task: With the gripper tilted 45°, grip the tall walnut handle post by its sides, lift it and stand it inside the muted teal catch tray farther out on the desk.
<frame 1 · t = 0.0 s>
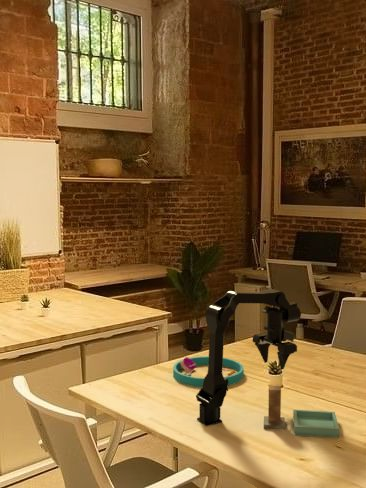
hand: (273, 365, 209), 15 cm above the table, tool pointing down, fingers open, 9 cm apart
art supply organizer: (208, 376, 243), on the table
catch tray: (315, 427, 190), on the table
handle post: (274, 425, 192), on the table
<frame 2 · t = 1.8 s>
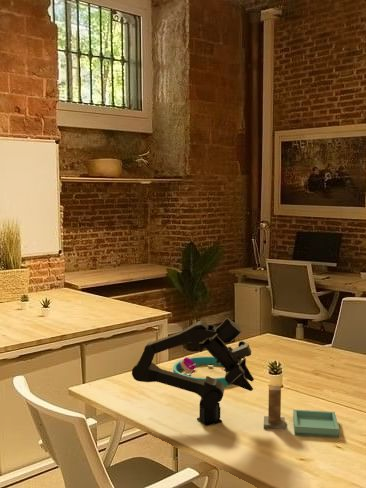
hand: (252, 385, 192), 14 cm above the table, tool tilted 45°, fingers open, 9 cm apart
nothing on the table moved.
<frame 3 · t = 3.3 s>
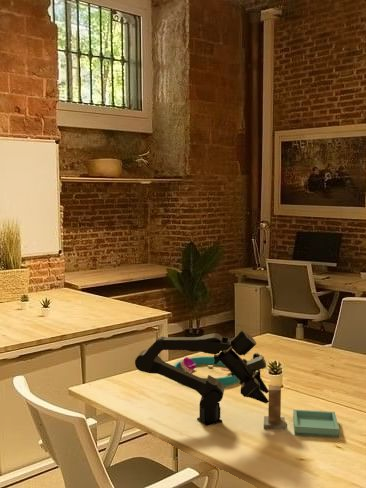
hand: (267, 397, 192), 10 cm above the table, tool tilted 45°, fingers open, 9 cm apart
nothing on the table moved.
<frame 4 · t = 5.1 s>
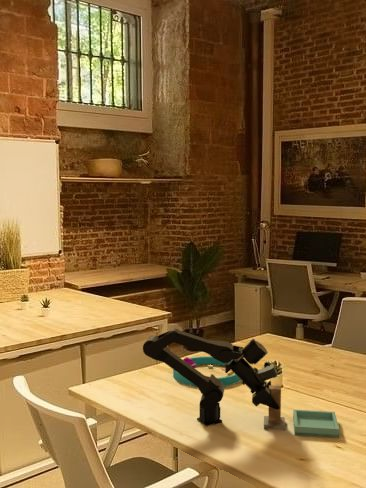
hand: (278, 406, 191), 7 cm above the table, tool tilted 45°, fingers closed on handle post, 4 cm apart
handle post: (274, 425, 192), on the table, touching gripper
everything else where it was.
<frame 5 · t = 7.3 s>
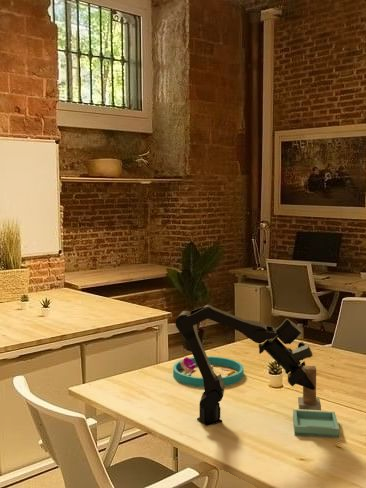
hand: (313, 386, 189), 14 cm above the table, tool tilted 45°, fingers closed on handle post, 4 cm apart
handle post: (309, 405, 190), point 7 cm above the table, touching gripper
everything else where it was.
when the fingers open (8 cm above the table, at t = 9.5 s): handle post stays where it is, resting on catch tray.
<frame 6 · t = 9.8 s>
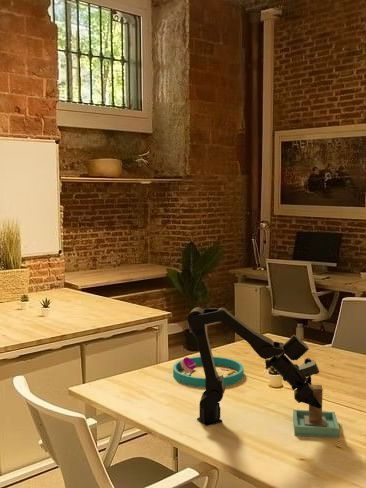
hand: (319, 403, 189), 9 cm above the table, tool tilted 45°, fingers open, 8 cm apart
handle post: (315, 424, 190), point 1 cm above the table, touching catch tray
everything else where it was.
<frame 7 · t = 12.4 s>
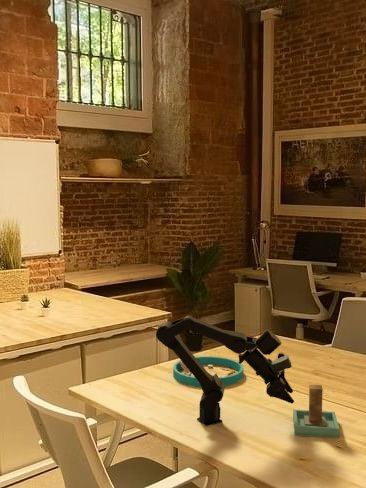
hand: (292, 397, 190), 10 cm above the table, tool tilted 45°, fingers open, 9 cm apart
nothing on the table moved.
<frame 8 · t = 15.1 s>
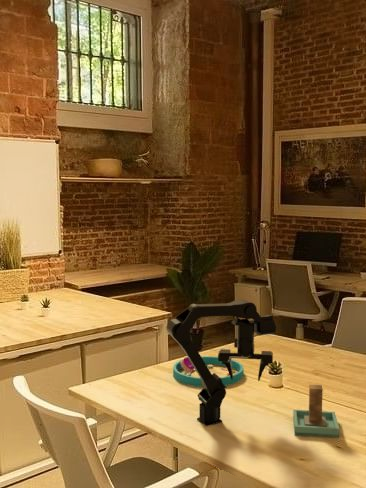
hand: (245, 380, 198), 13 cm above the table, tool pointing down, fingers open, 9 cm apart
nothing on the table moved.
at the end: handle post inside the target area on the catch tray (0.0 cm from its centre), point 1.0 cm above the catch tray's base; handle post tilted 0°; the gripper is holding nothing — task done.
